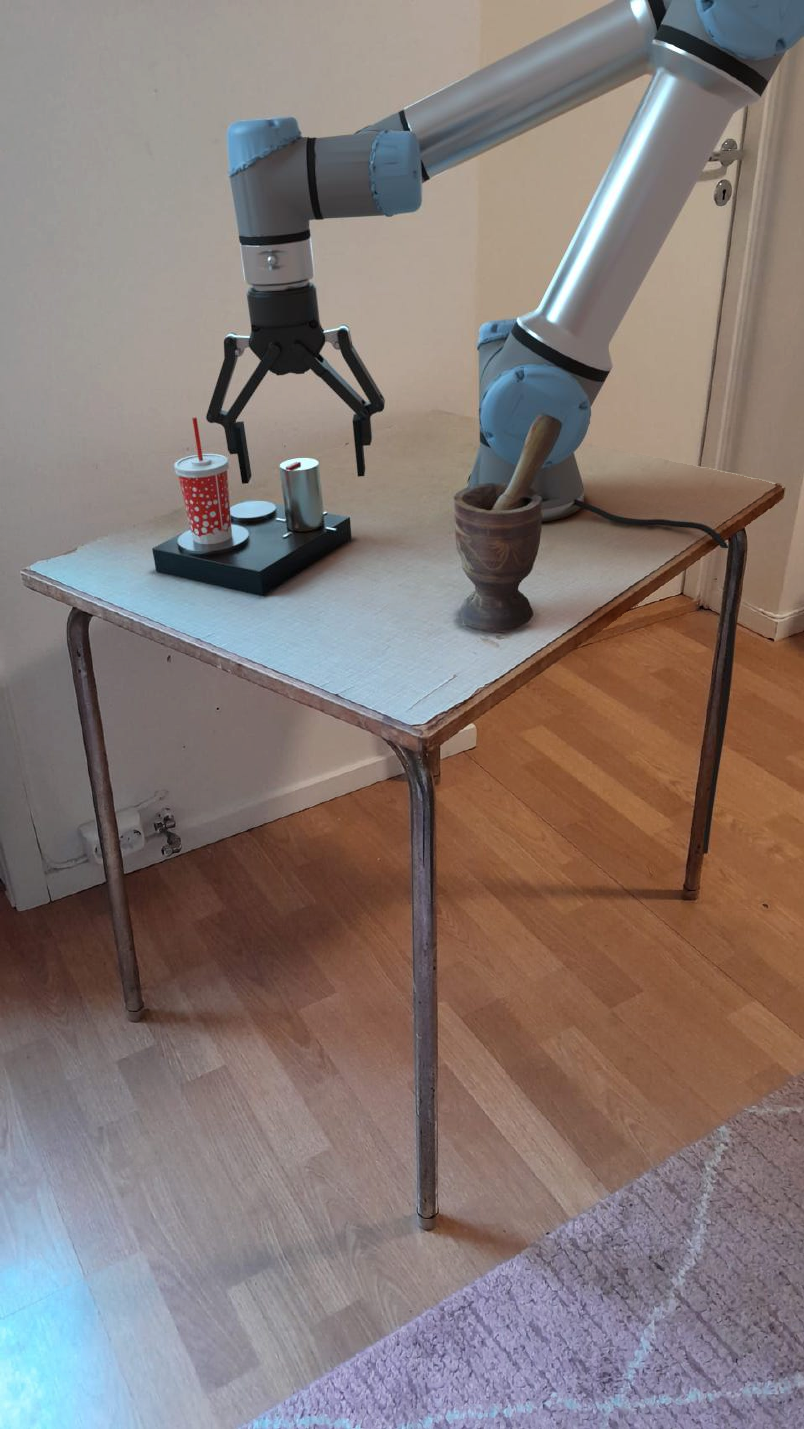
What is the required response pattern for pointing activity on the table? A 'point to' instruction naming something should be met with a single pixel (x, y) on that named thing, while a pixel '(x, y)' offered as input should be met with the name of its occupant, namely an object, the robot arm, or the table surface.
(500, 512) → the mortar and pestle
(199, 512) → the beverage cup
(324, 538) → the hob
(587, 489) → the table surface
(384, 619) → the table surface
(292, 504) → the knob
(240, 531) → the hot plates
